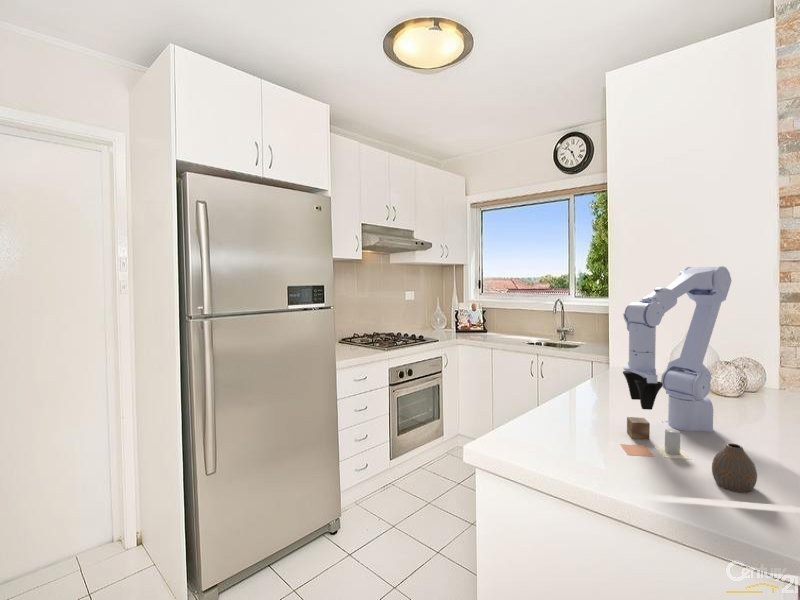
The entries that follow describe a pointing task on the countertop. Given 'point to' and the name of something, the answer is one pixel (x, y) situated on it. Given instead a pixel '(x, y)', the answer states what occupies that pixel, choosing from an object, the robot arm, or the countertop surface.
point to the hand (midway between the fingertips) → (641, 403)
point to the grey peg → (672, 441)
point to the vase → (734, 469)
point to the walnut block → (638, 428)
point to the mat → (644, 451)
